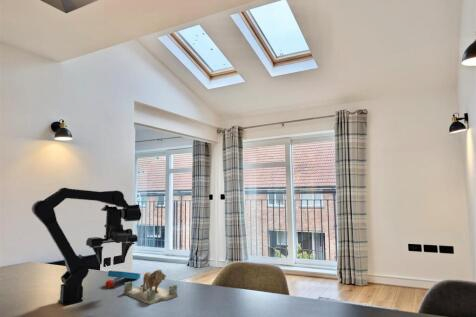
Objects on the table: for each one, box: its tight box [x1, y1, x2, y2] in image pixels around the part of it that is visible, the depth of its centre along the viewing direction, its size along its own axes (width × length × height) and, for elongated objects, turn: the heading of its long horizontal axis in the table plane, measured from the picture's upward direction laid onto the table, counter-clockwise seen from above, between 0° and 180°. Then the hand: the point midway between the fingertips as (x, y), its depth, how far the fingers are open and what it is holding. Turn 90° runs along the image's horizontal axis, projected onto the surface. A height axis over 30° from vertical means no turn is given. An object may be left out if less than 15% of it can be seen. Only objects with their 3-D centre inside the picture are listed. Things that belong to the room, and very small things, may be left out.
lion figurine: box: [139, 269, 167, 293], centre depth 124 cm, size 15×5×9 cm, turn 48°
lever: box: [104, 270, 141, 289], centre depth 141 cm, size 7×7×18 cm
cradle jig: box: [123, 281, 178, 305], centre depth 124 cm, size 12×19×4 cm, turn 47°
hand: (112, 262), depth 126 cm, fingers open, 9 cm apart
